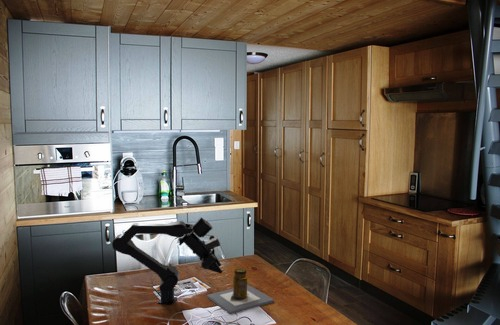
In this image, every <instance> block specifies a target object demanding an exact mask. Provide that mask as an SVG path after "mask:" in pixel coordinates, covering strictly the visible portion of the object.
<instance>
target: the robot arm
mask: <svg viewBox="0 0 500 325" xmlns="http://www.w3.org/2000/svg"><path fill="white" fill-rule="evenodd" d="M212 230H213V226H212V225H211V224H210V222H209V221H208V220H206V219H204V218H203V217H200V218H199V219H198V220H197V221H196V222H195V223H194V224H192V223H191V224H190V223H186V222H184V221H182V220H179V221H172V222H168V223H138V222H134V223H133V224H131V226H129V228H127V230H126V231H125V232H123V233H120V234H118V235H117V236H115V238H114V239H113V241H112V244H111V246H112V249H113V250H114V251H116V252H118V253H119V254H123V255H128V256H129V257H131V258H133V259H134V260H136V261H137V262H138V263H140V264H142V265H143V266H145V267H146V268H148V270H150V271H152V272H153V273H155V274H156V275H157V276H158V277H159V279H160V284H159V290H160V299H158V301H157V304H163V305H173V304H174V302H176V300H178V297H175V286H176V285H177V284H178V282H179V278H180V272H179V270H178V268H177V267H175V266H174V265H173V264H171V263H168V264H167V265H166V264H163V263H161V262H159V261H158V260H157V259H155V258H154V257H153V256H152V255H150V254H148V253H147V252H145V251H144V250H142V249H141V248H139V247H138V246H137V245H136V244H135V243H134V241H133V240H132V239H133V238H134V237H135V236H136V235H140V234H141V235H167V236H170V237H174V238H178V241H179V242H178V243H179V244H178V245H179V246H182V245H183V244H185V245H186V246H187V247H188V248H189V249H190V250H191V252H192V254H193V255H196V256H197V257H198V258H199V259H198V260H200V264H201V265H200V266H201V267H202V269H204V270H208V271H212V272H215V273H218V274H223V270H222V268H221V266H222V264H221V262H220V261H219V259H218V257H217V256H216V253H215V251H216V250H215V248H218V247H220V246H221V242H220V240H219V238H218V236H214V235H213V234H211V235H209V238H208V239H207V241H204V240H201V238H204V237H206V236H207V234H209V232H210V231H212Z"/></svg>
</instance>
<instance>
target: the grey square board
mask: <svg viewBox="0 0 500 325" xmlns="http://www.w3.org/2000/svg"><path fill="white" fill-rule="evenodd" d="M232 293H233V288H229V289H226V290H222V291H218V292H214V293H213V292H212V293H210V294H206V298H207V299H208V300H211V302H213V303H214V304H215V305H216V306H218V307H220V309H222V310H224V311H225V312H226V311H227V312H226V313H228V314H229V315H232V313H233V314H236V312H237V313H239V312H243V310H244V311H246V310H250V308H251V309H254V308H257V307H261V306H264V305H268V304H271V303H274V302H275V299H274V298H272V297H270V296H269V295H267V294H266V293H264V292H261V291H260V290H258V289H257V288H255V287H253V286H251V285H249V284H247V294H249V295H248V300H247V302H242V301H241V302H240V301H230V299H231V296H232Z"/></svg>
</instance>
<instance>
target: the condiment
mask: <svg viewBox="0 0 500 325" xmlns="http://www.w3.org/2000/svg"><path fill="white" fill-rule="evenodd" d="M233 272H234V273H233V274H234V275H233V285H232V286H233V288H232V289H233V293H232V296H231V299H230V301H240V302H241V301H242V302H247V300H248V295H249V294H247V285H248V276H247V269H245V268H241V267H240V268H236V269H234V271H233Z"/></svg>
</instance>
